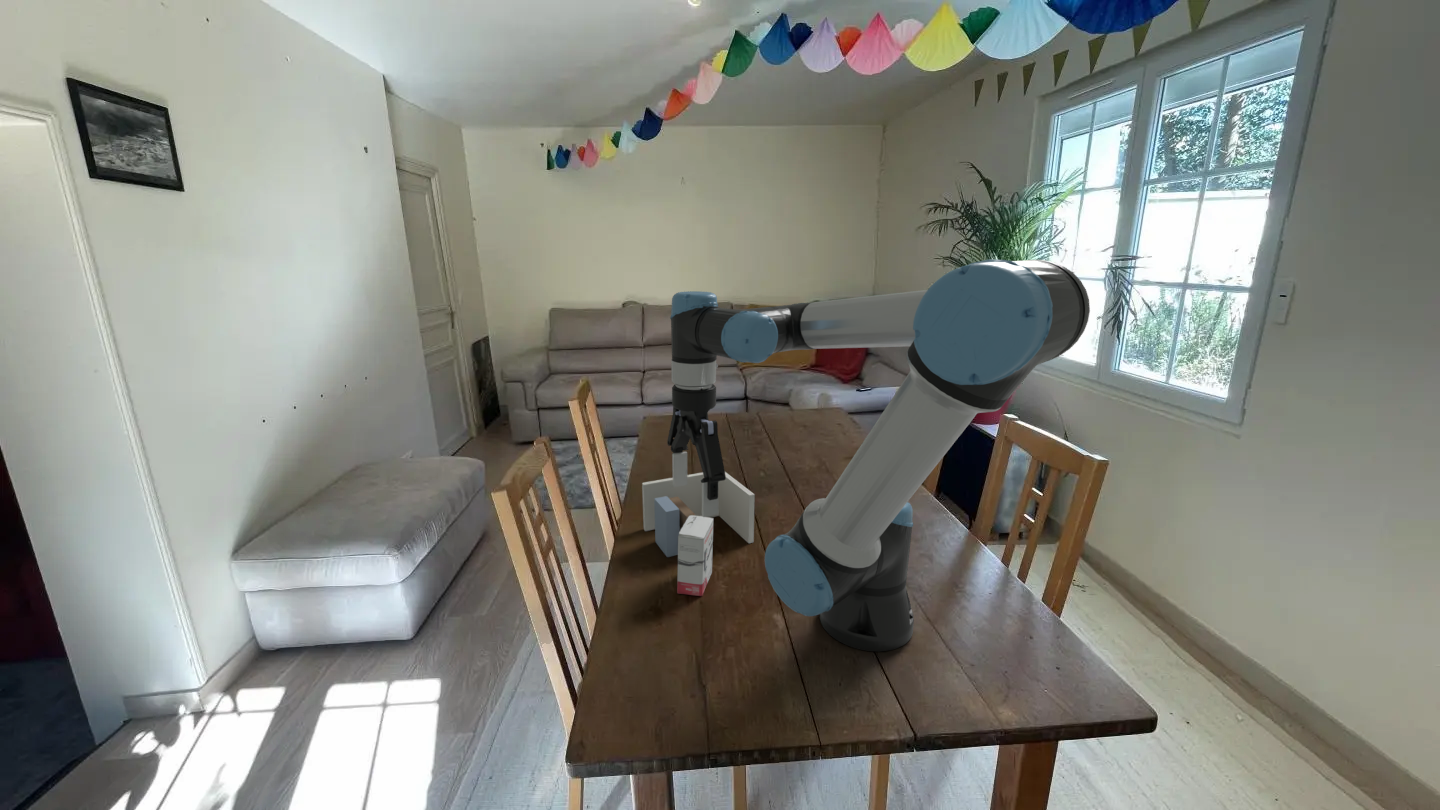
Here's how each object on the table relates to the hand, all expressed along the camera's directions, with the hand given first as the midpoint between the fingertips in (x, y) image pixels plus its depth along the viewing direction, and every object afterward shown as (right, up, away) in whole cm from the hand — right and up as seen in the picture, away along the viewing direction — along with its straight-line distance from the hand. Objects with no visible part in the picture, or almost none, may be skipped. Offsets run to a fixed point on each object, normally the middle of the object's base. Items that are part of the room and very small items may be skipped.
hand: (694, 499), depth 105 cm
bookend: (-3, -13, +18) cm, 22 cm away
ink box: (0, -16, +4) cm, 17 cm away
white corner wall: (0, -11, +22) cm, 25 cm away
